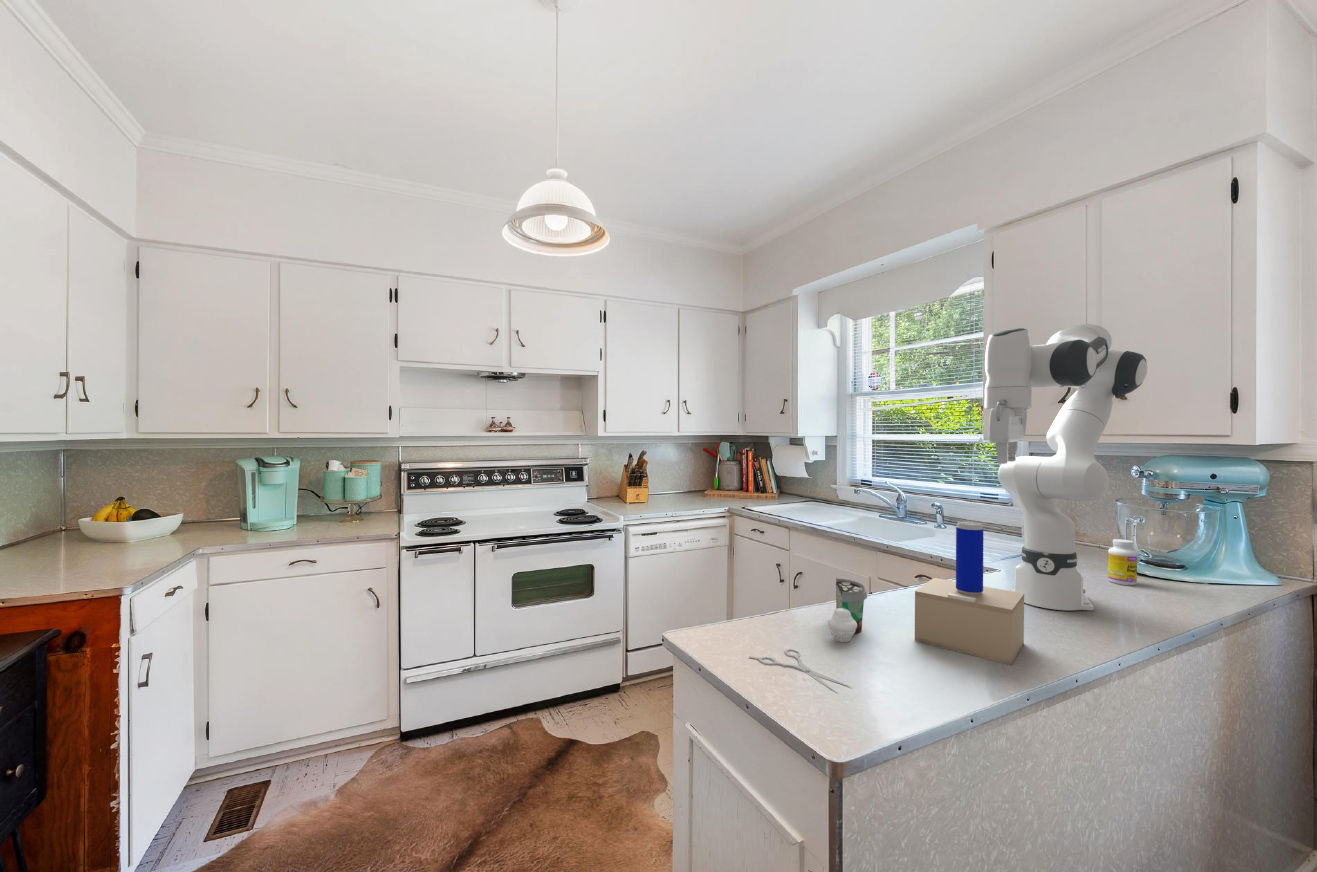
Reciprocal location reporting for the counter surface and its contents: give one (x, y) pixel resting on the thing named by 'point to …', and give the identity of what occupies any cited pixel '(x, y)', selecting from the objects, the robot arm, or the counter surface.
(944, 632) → the tan box
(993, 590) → the lid
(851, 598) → the food container
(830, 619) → the muffin
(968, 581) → the beverage can
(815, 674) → the scissors
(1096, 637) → the counter surface
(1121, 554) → the supplement bottle
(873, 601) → the counter surface
